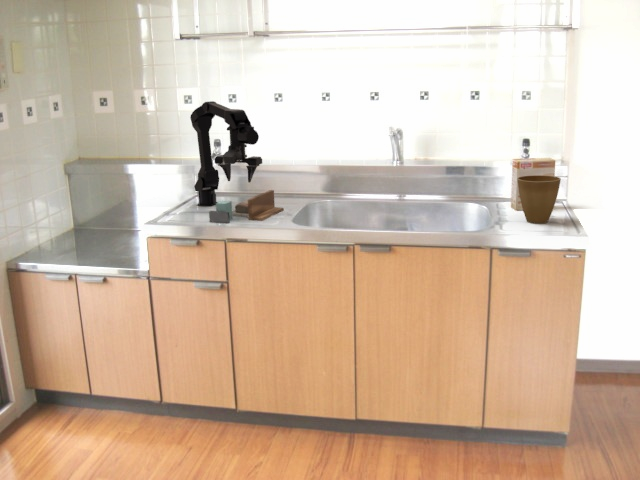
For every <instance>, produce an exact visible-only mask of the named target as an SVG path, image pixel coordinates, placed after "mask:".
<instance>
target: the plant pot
mask: <svg viewBox="0 0 640 480" xmlns="http://www.w3.org/2000/svg"><path fill="white" fill-rule="evenodd" d="M517 180H518V188H519V195H520V200H521V204H522V208H523V210H522V211H523V215H524V217H525V220H526V222H528V223H530V224H547V223H548V222H549V220H550V217H551V216H552V213H553V210H554V208H555V205H556V202H557V199H558V194H559V189H560V186H561V185H560V184H561V180H562V179H561V177H559V176H545V175H531V176H522V177H518V178H517Z"/></svg>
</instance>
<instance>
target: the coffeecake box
mask: <svg viewBox="0 0 640 480" xmlns="http://www.w3.org/2000/svg"><path fill="white" fill-rule="evenodd" d="M511 168H512V169H511V170H512V171H511V189H510V190H511V193H510V196H511V197H510V208H511V209H512V210H514V211H523V208H522V204H521V200H520V195H519V188H518V180H517V178H518V177H522V176H531V175H545V176H555V175H556V174H555V173H556V172H555V171H556V159H554V158H551V157H537V158H513V159H512V167H511ZM555 177H556V176H555Z"/></svg>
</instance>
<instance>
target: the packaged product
mask: <svg viewBox="0 0 640 480" xmlns="http://www.w3.org/2000/svg"><path fill="white" fill-rule="evenodd" d="M234 208H235V210H232V217H247V218H249V213H248V199H247V200H244V201H241V202H240V203H238V204H237V203H236V205H235V206H234Z"/></svg>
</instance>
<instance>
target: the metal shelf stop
mask: <svg viewBox="0 0 640 480" xmlns="http://www.w3.org/2000/svg"><path fill="white" fill-rule="evenodd" d="M208 214H209V215H208V216H209V222H210V223H222V224H230V222H231V220H230V217H229V212H218V211H215V210H209V211H208Z"/></svg>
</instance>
